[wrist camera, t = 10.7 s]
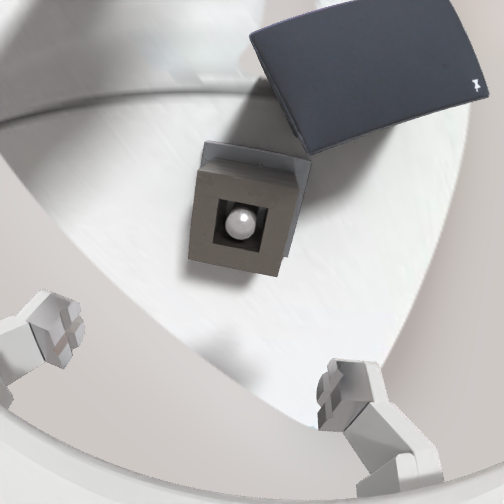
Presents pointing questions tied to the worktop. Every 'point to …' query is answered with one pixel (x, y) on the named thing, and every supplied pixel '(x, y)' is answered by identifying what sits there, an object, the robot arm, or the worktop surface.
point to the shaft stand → (247, 215)
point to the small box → (367, 67)
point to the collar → (249, 192)
